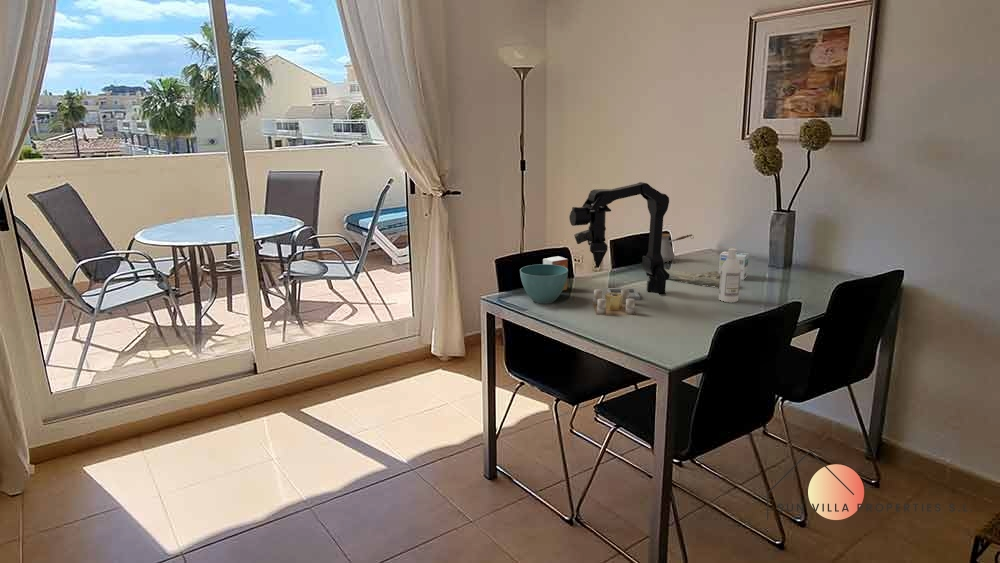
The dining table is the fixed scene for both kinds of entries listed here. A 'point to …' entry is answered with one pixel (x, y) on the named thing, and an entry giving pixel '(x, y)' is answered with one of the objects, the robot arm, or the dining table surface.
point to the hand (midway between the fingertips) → (596, 264)
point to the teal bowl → (543, 281)
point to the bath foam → (730, 278)
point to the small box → (557, 263)
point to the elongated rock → (696, 277)
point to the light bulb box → (742, 261)
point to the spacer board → (601, 309)
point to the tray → (631, 290)
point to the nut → (613, 301)
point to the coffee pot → (669, 247)
